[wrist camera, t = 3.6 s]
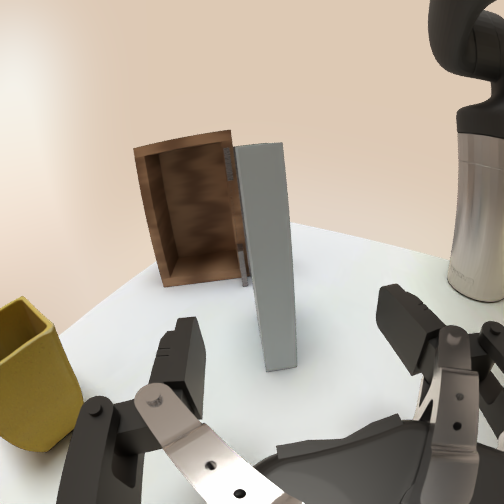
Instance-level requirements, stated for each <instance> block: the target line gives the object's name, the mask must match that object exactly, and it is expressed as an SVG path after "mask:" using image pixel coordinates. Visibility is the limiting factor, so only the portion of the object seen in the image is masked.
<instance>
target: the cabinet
mask: <svg viewBox="0 0 504 504" xmlns="http://www.w3.org/2000/svg"><path fill="white" fill-rule="evenodd" d="M228 147H229V150H230V157H231V165H232V168H233V169H232V170H233V171H232V172H233V180H231V181H228V180H227V172H226V165H225V157H224V150H223V148H228ZM133 150H134V155H135V162H136V168H137V174H138V180H139V185H140V190H141V195H142V200H143V205H144V210H145V215H146V219H147V223H148V228H149V232H150V237H151V241H152V245H153V249H154V253H155V256H156V261H157V264H158V268H159V272H160V275H161V279H162V282H163V286H164V287H169V286H178V285H186V284H194V283H202V282H210V281H217V280H225V279H232V278H240V277H241V270H240V263H239V257H238V248H237V244H242V246H243V253H244V260H245V265H246V266H245V267H246V268H247V269H246V274H247V276H250V273H249V266H248V258H247V251H246V243H245V236H244V228H243V227H242V226H243V221H242V213H241V206H240V198H239V191H238V183H237V175H236V168H235V160H234V152H233V145H232V137H231V130H225V131H218V132H212V133H205V134H199V135H193V136H188V137H182V138H178V139H173V140H167V141H163V142H158V143H154V144H149V145H145V146H141V147H137V148H134V149H133ZM230 185H231V186H230ZM230 187H231V189H230ZM231 191H232V192H231ZM232 195H233V196H232ZM230 196H231V197H230ZM232 199H233V200H232ZM231 201H232V202H231ZM235 201H236V202H235ZM231 203H232V204H233V203H234V204H233V205H232V204H231ZM237 204H238V205H237ZM232 206H233V208H232ZM233 215H234V217H235V220H234V217H233ZM238 218H239V219H238ZM237 223H238V224H237ZM235 224H236V225H235ZM236 230H237V231H236ZM235 231H236V232H237V233H236V232H235ZM238 234H239V235H238ZM237 235H238V237H237ZM236 237H237V238H236ZM241 237H242V238H241ZM245 253H246V254H245ZM247 272H248V273H247Z"/></svg>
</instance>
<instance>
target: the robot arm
mask: <svg viewBox="0 0 504 504" xmlns="http://www.w3.org/2000/svg"><path fill="white" fill-rule="evenodd" d="M494 1H496V0H430V6H429V14H428V33H429V41H430V46H431V49H432V52H433V55H434V56H435V59H436V60H437V62H438V63H439V64H440V66H441V67H443V68H444V69H445V70H447V71H448V72H451V73H453V74H456V75H460V76H465V77H470V78H476V79H481V80H486V81H490V82H491V97H490V98H489V99H488V100H486V101H484V102H482V103H479V104H474V105H470V106H466V107H463V108H461V109H459V110H458V111H457V115H456V120H457V132H458V159H459V171H458V172H459V174H458V198H457V199H458V200H457V211H456V222H455V230H454V238H453V245H452V251H451V257H450V263H449V268H448V273H447V278H448V281H449V283H450V284H451V285H452V286H453V287H454V288H455V289H456V290H457V291H459V292H460V293H462V294H464V295H465V296H467V297H470V298H473V299H476V300H480V301H486V302H494V301H499V300H501V299H503V298H504V19H503V18H502V17H501V16H499V15H497V14H495V13H492V12H489V11H485V10H484V9H485V8H486V7H487V6H488V5H489V4H491V3H493V2H494ZM376 322H377V326H378V328H379V329H380V331H381V332H382V334H383V335H384V336H385V338H386V339H387V341H388V342H389V343H390V345H391V346H392V348H393V349H394V351H395V352H396V354H397V355H398V356H399V358H400V359H401V361H402V362H403V364H404V365H405V367H406V368H407V370H408V371H409V373H410V374H411V376H413V375H416V374H418V373H422V374H423V377H422V379H421V384H420V390H419V395H418V400H417V405H416V410H415V414H414V417H413V420H401V419H400V417H399V415H398V413H397V414H394V415H392V416H389V417H387V418H384V419H381V420H378V421H375V422H372V423H370V424H369V425H367V426H365V427H364V428H362V429H360V430H358V431H357V432H355V433H353V434H351V435H350V436H348V437H346V438H343V439H330V440H306V441H301V442H296V443H290V444H285V445H278V446H276V448H277V454H274V455H272V456H269V457H267V458H265V459H263V460H262V461H260V462H258V463H257V464H256V465H254V466H253V467H252V466H251V465H250V464H248V463H247V462H246V461H245V460H244V459H243V458H242V457H240V456H239V455H238V454H237V453H236V452H235V451H234V450H233V449H232V448H231V447H230V446H228V445H227V444H226V443H225V442H224V441H223V440H222V439H221V438H220V437H219V436H218V435H217V434H216V433H215V432H214V431H213V430H212V429H211V428H210V427H209V426H208V425H207V424H205V423H203V424H202V423H201V422H200V421H199V420H200V419H202V415H203V396H204V380H205V365H206V351H205V345H204V342H203V338H202V335H201V331H200V328H199V324H198V321H197V318H196V317H187V318H178V319H177V323H176V327H175V331H167V332H166V334H165V335H164V336H163V337H162V338H161V340H160V343H159V347H158V350H157V354H156V358H155V361H154V365H153V368H152V372H151V376H150V380H149V384H148V385H146V386H144V387H142V388H141V389H140V390H139V391H138V392H137V394H136V396H135V399H132V400H129V401H125V402H121V403H116V404H113V403H112V402H111V401H110V399H108V398H107V397H104V396H95V397H92V398H90V399H88V400H87V401H86V402H85V403H84V404H83V405H82V407H81V409H80V412H79V415H78V418H77V421H76V424H75V428H74V431H73V434H72V438H71V441H70V445H69V448H68V452H67V456H66V460H65V464H64V468H63V472H62V476H61V481H60V486H59V491H58V496H57V501H56V504H141V493H142V477H143V465H144V454H145V452H150V451H154V450H158V449H163V450H164V451H165V452H166V454H167V455H168V456H169V458H170V459H171V460H172V462H173V463H174V464H175V466H176V467H177V468H178V469H179V471H180V472H181V473H182V474H183V475H184V477H185V478H186V479H187V480H188V481H189V483H190V484H191V485H192V486H193V487H194V488H195V489H196V491H197V492H198V493H199V494H200V495H201V496H202V497H203V498H204V499H205V500H206V501H207V502H208V503H209V504H504V388H503V387H502V386H501V384H500V383H499V381H498V380H497V379H496V377H495V376H494V375H493V373H492V372H491V369H492V367H493V365H494V363H496V365H497V366H498V367H499V368H500V370H501V371H502V372H503V373H504V326H503V325H501V324H500V323H497V322H494V321H488V322H486V323H484V324H483V326H482V329H481V331H480V333H473V334H467V332H466V331H465V330H464V329H462V328H460V327H458V326H454V325H448V326H446V325H445V324H444V323H443V322H442V321H441V320H440V319H439V318H438V317H437V316H436V315H435V314H434V313H433V312H432V311H431V310H430V309H428V307H427V306H426V305H425V304H423V302H422V301H421V300H420V299H419V298H418V297H417V296H415V295H413V294H411V293H409V292H405V291H404V290H403V289H402V288H401V287H400V286H399V285H398V284H392V285H387V286H383V287H381V288H380V290H379V297H378V305H377V312H376ZM479 408H480V410H481V411H482V413H483V415H484V416H485V418H486V420H487V421H488V423H489V425H490V427H491V428H492V430H493V432H494V434H495V435H496V437H497V439H498V447H497V449H495V448H492V447H489V446H486V445H483V444H480V443H478V442H477V434H478V419H479Z"/></svg>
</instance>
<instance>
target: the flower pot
mask: <svg viewBox="0 0 504 504" xmlns="http://www.w3.org/2000/svg"><path fill="white" fill-rule="evenodd" d="M83 404H84V403H83V397H82V392H81V389H80V386H79V383H78V381H77V378H76V376H75V374H74V372H73V370H72V367H71V365H70V363H69V361H68V358H67V356H66V354H65V351H64V349H63V347H62V344H61V342H60V339H59V337H58V334H57V332H56V329H55V327H54V324H53V323H52V322H51V321H50V320H48V319H47V318H46V317H45V316H44V315H43V314H41V313H40V312H39V311H38V310H37V309H36V308H35V307H34V306H33V305H32V304H31V303H30V302H29V301H28V300H27V299H26V298H25V297H23V296H21V297H20V298H18V299H16V300H14V301H12V302H10V303H9V304H7V305H5V306H4V307H2V308H0V436H1V437H2V438H3V439H5V440H6V441H8V442H9V443H11V444H13V445H15V446H17V447H19V448H21V449H24V450H28V451H33V452H47V451H49V450H50V449H51V448H52V447H53V446H54V445H56V444H57V443H58V442H59V441H60V440H61V439H63V438H64V437H65V436H66V435H67V434H68V433H70V432H71V431H72V430H73V429H74V428H75V424H76V421H77V418H78V415H79V412H80V409H81V407H82V405H83Z"/></svg>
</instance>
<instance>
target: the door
mask: <svg viewBox="0 0 504 504" xmlns="http://www.w3.org/2000/svg"><path fill="white" fill-rule="evenodd" d="M235 152H236V159H237V167H238V175H239V183H240V190H241V198H242V206H243V213H244V221H245V229H246V236H247V244H248V251H249V259H250V267H251V274H252V282H253V289H254V297H255V304H256V312H257V318H258V324H259V331H260V337H261V343H262V349H263V355H264V361H265V367H266V372H269V371H276V370H282V369H288V368H294V367H297V348H296V318H295V295H294V276H293V259H292V244H291V230H290V217H289V206H288V193H287V182H286V172H285V163H284V152H283V143H282V142H281V143H267V144H256V145H248V146H239V147H235Z"/></svg>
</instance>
